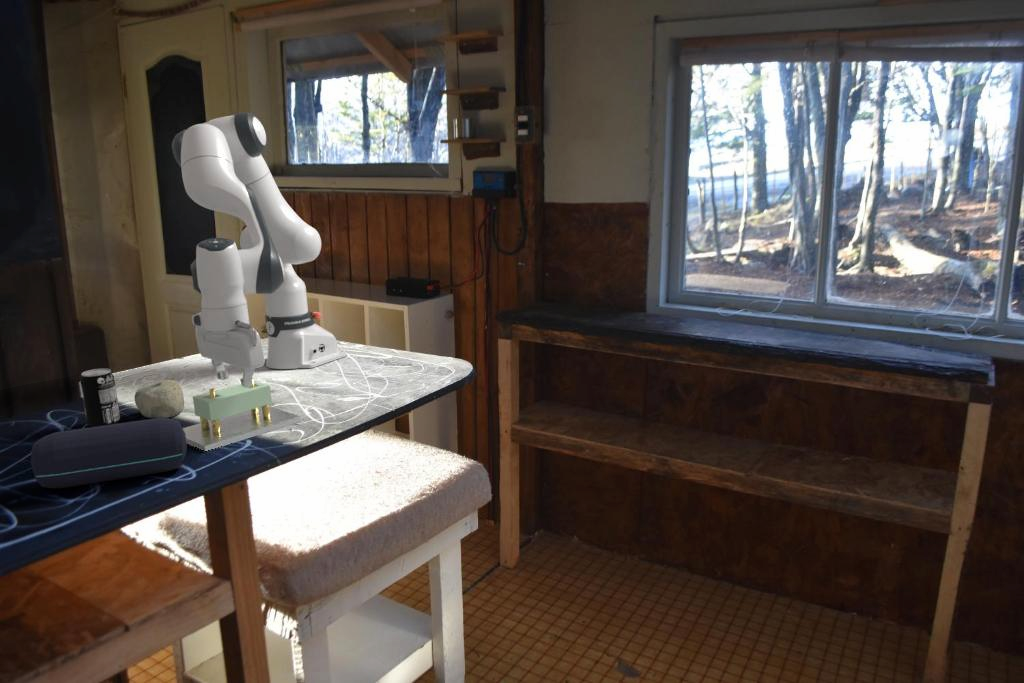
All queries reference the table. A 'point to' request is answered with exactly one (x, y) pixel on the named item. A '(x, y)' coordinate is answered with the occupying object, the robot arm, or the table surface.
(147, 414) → the stone
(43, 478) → the portable speaker
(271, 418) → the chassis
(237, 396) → the board
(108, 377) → the beverage can
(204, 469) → the table surface
